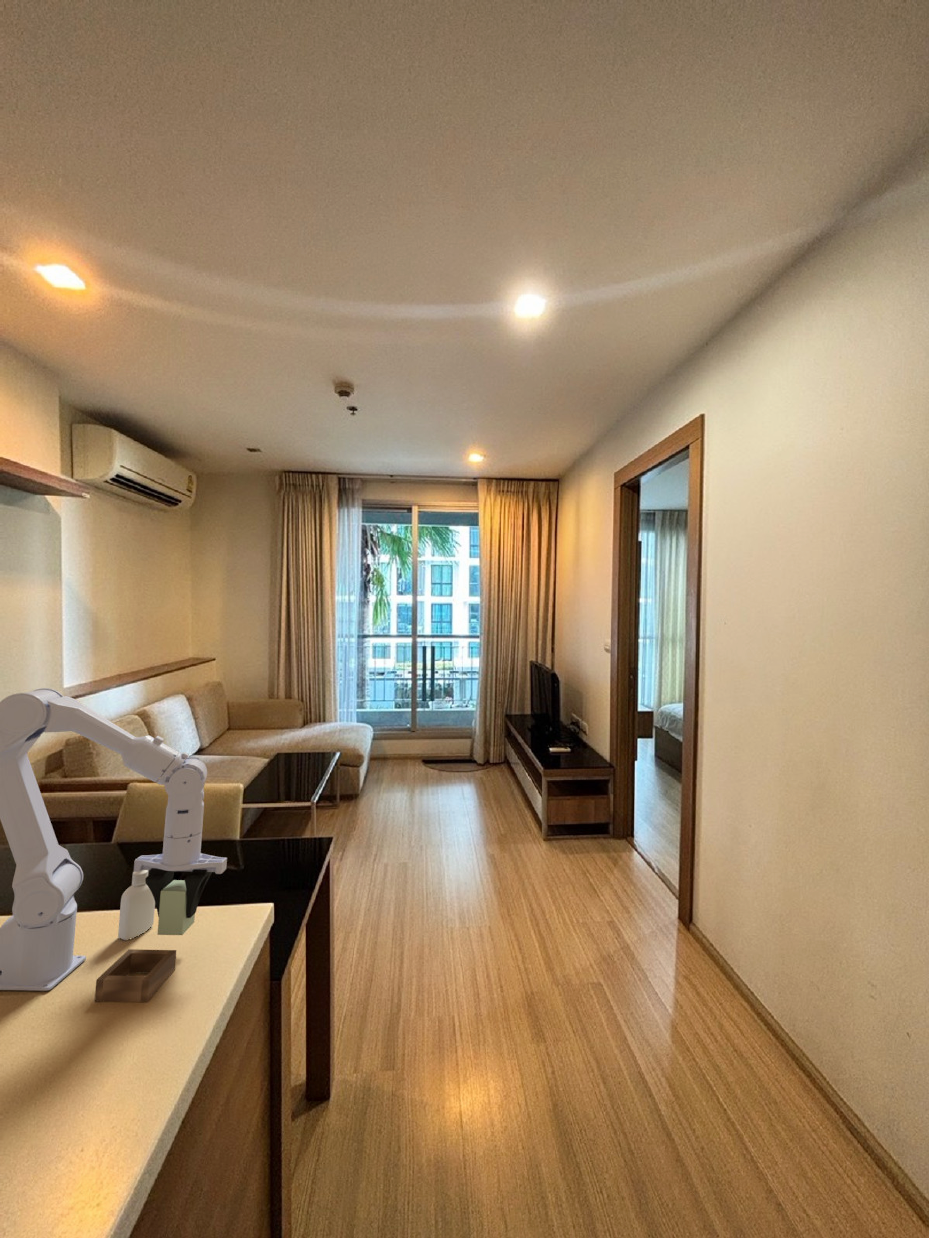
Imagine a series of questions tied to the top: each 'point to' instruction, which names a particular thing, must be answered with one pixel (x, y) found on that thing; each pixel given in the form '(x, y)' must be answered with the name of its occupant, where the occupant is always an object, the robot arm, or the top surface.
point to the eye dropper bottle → (136, 908)
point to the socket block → (135, 988)
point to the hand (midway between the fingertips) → (177, 914)
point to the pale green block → (174, 909)
